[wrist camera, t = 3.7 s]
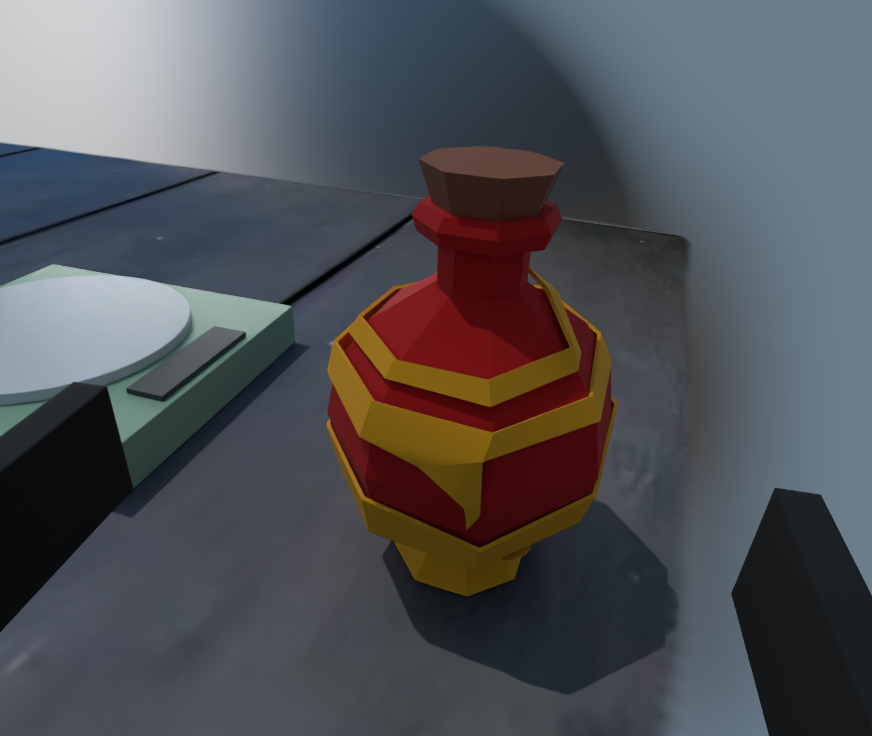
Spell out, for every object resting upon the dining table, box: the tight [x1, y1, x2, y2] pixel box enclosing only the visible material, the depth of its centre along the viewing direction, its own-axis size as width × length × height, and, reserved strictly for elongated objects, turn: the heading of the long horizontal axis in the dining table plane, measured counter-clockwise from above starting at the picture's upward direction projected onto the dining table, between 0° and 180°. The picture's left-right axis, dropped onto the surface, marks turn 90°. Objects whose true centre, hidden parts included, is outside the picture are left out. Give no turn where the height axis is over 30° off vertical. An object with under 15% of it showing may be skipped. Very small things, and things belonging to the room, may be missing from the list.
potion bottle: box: [326, 146, 618, 597], centre depth 22 cm, size 10×10×15 cm
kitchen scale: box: [0, 264, 295, 492], centre depth 34 cm, size 18×16×3 cm
